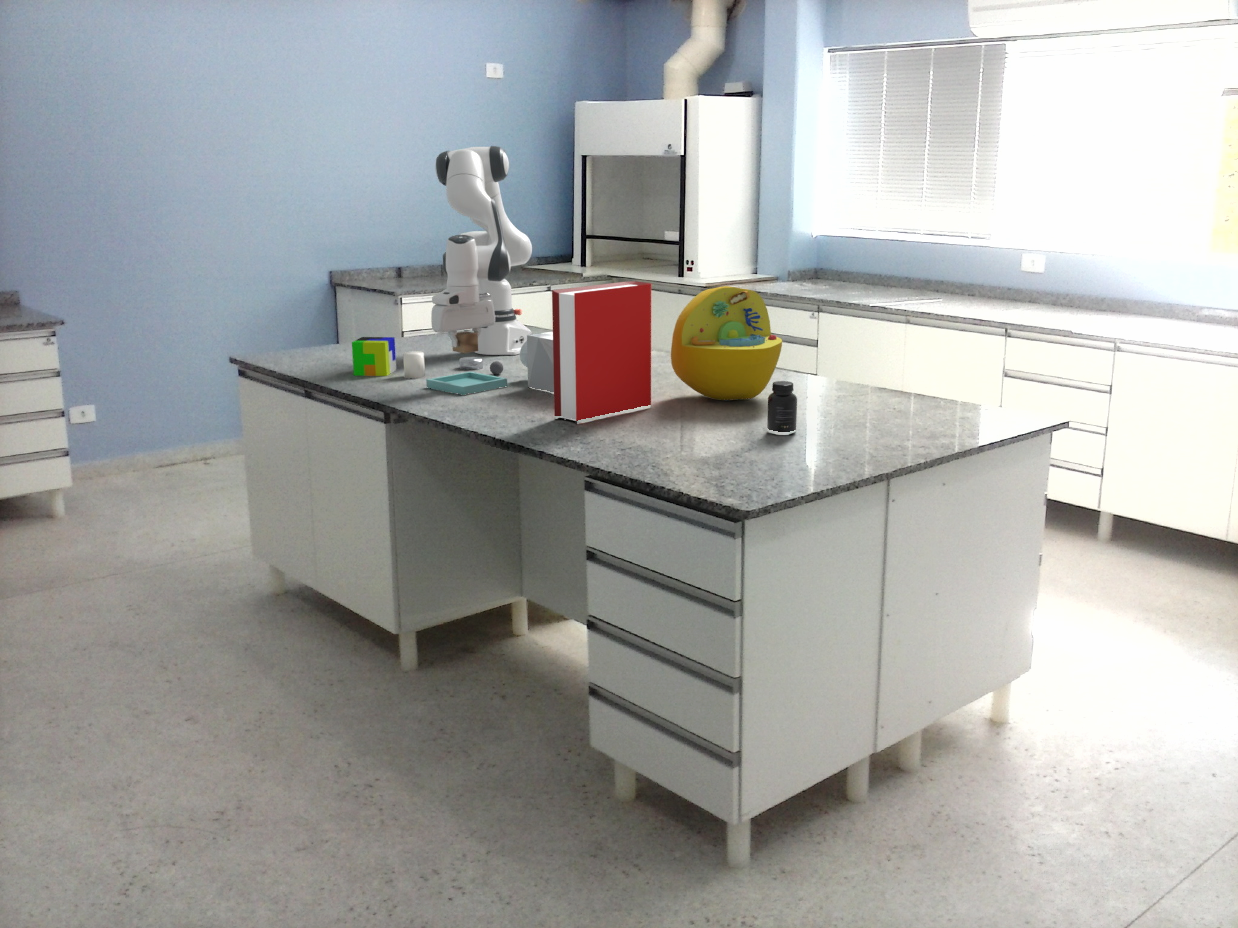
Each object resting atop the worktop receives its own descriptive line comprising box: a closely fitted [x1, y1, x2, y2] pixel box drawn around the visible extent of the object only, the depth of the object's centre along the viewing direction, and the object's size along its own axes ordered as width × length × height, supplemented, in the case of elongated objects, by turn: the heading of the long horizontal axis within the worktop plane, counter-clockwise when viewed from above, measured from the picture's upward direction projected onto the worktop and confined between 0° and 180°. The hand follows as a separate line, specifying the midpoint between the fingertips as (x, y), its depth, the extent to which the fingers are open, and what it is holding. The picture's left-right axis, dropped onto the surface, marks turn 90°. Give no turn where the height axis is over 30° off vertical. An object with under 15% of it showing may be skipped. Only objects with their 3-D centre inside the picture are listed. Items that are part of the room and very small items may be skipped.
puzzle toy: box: [351, 336, 397, 377], centre depth 351 cm, size 10×10×10 cm
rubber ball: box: [489, 360, 504, 376], centre depth 347 cm, size 4×4×4 cm
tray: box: [425, 370, 508, 396], centre depth 330 cm, size 16×16×2 cm
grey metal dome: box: [459, 356, 484, 371], centre depth 358 cm, size 7×7×3 cm
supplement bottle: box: [766, 380, 798, 432], centre depth 275 cm, size 7×7×12 cm
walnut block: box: [452, 330, 478, 354], centre depth 326 cm, size 5×5×5 cm
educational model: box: [670, 285, 783, 401], centre depth 308 cm, size 29×30×30 cm
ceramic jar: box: [402, 350, 426, 379], centre depth 345 cm, size 6×6×7 cm
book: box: [551, 280, 652, 421], centre depth 293 cm, size 27×8×32 cm, turn 134°
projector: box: [519, 331, 554, 392], centre depth 327 cm, size 35×19×15 cm, turn 42°
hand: (465, 345), depth 327 cm, fingers closed on walnut block, 5 cm apart
